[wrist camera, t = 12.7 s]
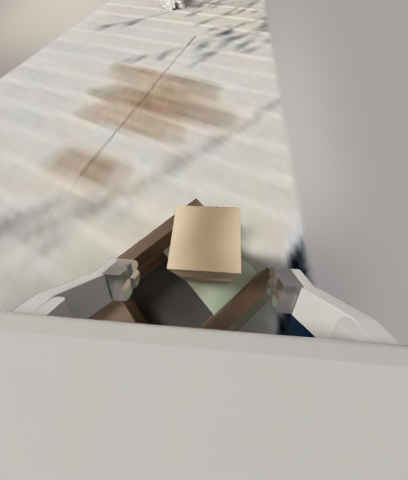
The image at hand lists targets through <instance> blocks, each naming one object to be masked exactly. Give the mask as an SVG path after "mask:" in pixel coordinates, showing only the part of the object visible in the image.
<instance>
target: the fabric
mask: <svg viewBox="0 0 408 480" xmlns="http://www.w3.org/2000/svg"><path fill="white" fill-rule="evenodd" d="M161 1H165V2H163V3H160V4H159V5H160V6H162V7H163V8H165V9H170V10H172V8H173V9H174V8H175V7H176V8H178V9H179V4H178V2H181V3H182V6H184V7H185V4H184V1H183V0H160V2H161ZM163 5H165V6H163ZM185 8H186V7H185Z"/></svg>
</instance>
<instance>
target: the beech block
mask: <svg viewBox="0 0 408 480" xmlns="http://www.w3.org/2000/svg"><path fill="white" fill-rule="evenodd" d="M167 269H168V270H170V271H171V272H173V273H174V274H176V275H178V276H179V277H181V278H182V279H184V280H185V281H193V282H208V283H223V284H228V283H229V282H231V281H232V280H233V279H235V278H236V277H237V276H238V275H240V274H241V225H240V208H236V207H208V206H179V205H176V211H175V217H174V224H173V230H172V237H171V244H170V250H169V257H168V264H167Z"/></svg>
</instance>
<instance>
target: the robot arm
mask: <svg viewBox="0 0 408 480" xmlns="http://www.w3.org/2000/svg"><path fill="white" fill-rule="evenodd" d="M137 267H138V263H137V261H136V260H127V259H110V260H108V261H107V262H106V263H105V264H104V265H102V266H101V267H100V268H99V269H98V270H96V271H95V272H94V273H93V274H88V275H85V276H82V277H80V278H77V279H75V280H72V281H70V282H67V283H64V284H62V285H59V286H57V287H54V288H51V289H49V290H46V291H44V292H41V293H39V294H36V295H35V296H33V297H32V298H30V299H29V300H28V301H26V302H25V303H23V304H22V305H20V306H19V307H18V308H16V309H15V310H13V311H12V312H0V480H408V345H401V344H400V343H399V342H398V341H397V340H396V339H395V338H394V337H393V336H392V335H391V334H390V333H389V332H388V331H387V330H385V329H384V328H383V327H382V326H381V325H380V324H379V323H378V322H377V321H376V320H375V319H373V318H371V317H369V316H367V315H366V314H363V313H362V312H360V311H358V310H356V309H355V308H353V307H351V306H349V305H347V304H346V303H344V302H342V301H340V300H338V299H337V298H335V297H333V296H331V295H329V294H327V293H326V292H324V291H322V290H320V289H318V288H315V287H314V286H313V285H312V284H311V282H310V281H309V280H308V279H307V278H306V276H305V275H304V274H303V273H302V272H301V270H299V269H275V268H271V270H270V273H269V275H270V277H271V278H270V279H269V280H268V282H267V292H268V295H269V297H270V298H272V302H271V303H272V305H273V307H274V310H275V312H279V313H289V314H292V315H293V316H294V317H295V318H296V319H297V320H298V321H299V322H300V323H301V324H302V325H303V326H304V327H305V328H306V329H308V330H309V331H310V332H311V333H312V334H313V335H314V336H315V337H316V338H312V337H299V336H287V335H274V334H263V333H251V332H239V331H227V330H216V329H204V328H191V327H179V326H167V325H155V324H143V323H131V322H119V321H107V320H95V319H87V318H89V317H90V316H92V315H93V314H94V313H96V312H97V311H99V310H100V309H102V308H103V307H105V306H106V305H107V304H109V303H110V302H112V300H116V301H127V300H128V299H129V297H130V296H131V294H132V293H133V291H132V289H134V288H136V287H137V285H138V284H139V281H140V272H139V271H138V270H137Z"/></svg>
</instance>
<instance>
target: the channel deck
mask: <svg viewBox="0 0 408 480" xmlns="http://www.w3.org/2000/svg"><path fill="white" fill-rule="evenodd" d="M187 206H203V205H202V204H201V203H200V202H199V201H198V200H197V199H195V200H193V201H192V202H191V203H189V204H188V205H187ZM174 217H175V215H174V216H172V217H171V218H170V219H168V220H167V221H166V222H164V223H163V224H162V225H160V226H159V227H158V228H156V229H155V230H154V231H152V232H151V233H150V234H148V235H147V236H146V237H144V238H143V239H142V240H140V241H139V242H138V243H136V244H135V245H134V246H132V247H131V248H130V249H128V250H127V251H126V252H124V253H123V254H122V255H120V256H119V257H118V258H116V259H127V260H136V261H137V263H138V267H137V270H138V271H139V272H140V281H139V284H138V285H137V287H136V288H134V289H132V291H133V293H132V294H131V296H130V297H129V299H128V300H127V301H116V300H112V302H110V303H109V304H107V305H106V306H105V307H103V308H102V309H100V310H99V311H97V312H96V313H94V314H93V315H92V316H90V317H89V318H87V319H95V320H107V321H119V322H131V323H143V324H155V325H167V326H179V327H191V328H204V329H216V330H227V331H238V330H239V329H240V328H241V327H242V326H243V325H244V324H245V323H246V322H247V321H248V320H249V319H250V318H251V317H252V315H253V314H254V313H255V312H256V311H257V310H258V309H259V308H260V307H261V306H262V305H263V304H264V303H265V302H266V301H267V300H268V299H269V298H270V297H269V295H268V292H267V282H268V280H269V279H270V278H271V277H270V275H269V273H270V270H269V269H268V268H266V269H264V270H262V271H260V272H259V273H258V272H257V271H256V270H255V269H254V268H253V267H252V266H251V265H250V264H249V263H248V262H247V261H246V260H245V259H244V258H243V257H242V256H241V274H240V275H238V276H237V277H236V278H235V279H233V280H232V281H231V282H229V283H228V284H223V283H208V282H193V281H185V280H184V279H182V278H181V277H179V276H178V275H176V274H174V273H173V272H171V271H170V270H168V269H167V264H168V257H169V250H170V244H171V237H172V230H173V224H174Z"/></svg>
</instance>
